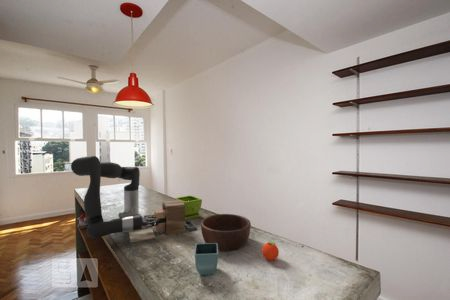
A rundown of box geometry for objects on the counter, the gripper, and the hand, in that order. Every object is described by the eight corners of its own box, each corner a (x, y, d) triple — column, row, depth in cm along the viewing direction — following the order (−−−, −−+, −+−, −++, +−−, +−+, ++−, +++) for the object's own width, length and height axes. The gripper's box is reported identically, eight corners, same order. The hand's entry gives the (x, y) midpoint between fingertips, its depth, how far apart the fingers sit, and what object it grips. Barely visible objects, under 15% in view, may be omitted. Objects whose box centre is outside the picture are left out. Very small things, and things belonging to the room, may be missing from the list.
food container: (128, 231, 119) (127, 213, 118) (118, 230, 120) (118, 213, 120) (140, 223, 131) (140, 207, 130) (132, 222, 132) (132, 206, 132)
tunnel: (162, 227, 125) (162, 201, 125) (179, 224, 129) (179, 199, 129) (166, 235, 114) (166, 206, 114) (184, 231, 119) (184, 204, 118)
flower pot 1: (184, 222, 133) (184, 202, 133) (173, 216, 144) (173, 197, 144) (202, 217, 143) (202, 198, 142) (191, 212, 153) (191, 194, 153)
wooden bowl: (255, 235, 114) (255, 216, 114) (243, 258, 91) (243, 235, 91) (212, 229, 123) (212, 211, 122) (191, 249, 99) (191, 227, 99)
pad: (128, 232, 118) (128, 231, 118) (151, 228, 123) (151, 228, 123) (130, 242, 105) (130, 242, 105) (155, 237, 111) (155, 237, 111)
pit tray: (182, 223, 130) (182, 221, 130) (190, 222, 133) (190, 220, 132) (188, 231, 120) (188, 228, 120) (196, 229, 122) (196, 226, 122)
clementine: (267, 252, 96) (268, 237, 96) (282, 257, 92) (282, 241, 92) (259, 259, 90) (259, 243, 90) (274, 265, 85) (274, 248, 85)
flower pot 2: (195, 265, 86) (195, 243, 85) (217, 264, 86) (217, 242, 86) (194, 279, 77) (194, 254, 77) (218, 277, 78) (218, 253, 77)
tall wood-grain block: (154, 229, 120) (154, 210, 120) (180, 225, 127) (180, 206, 127) (156, 234, 114) (156, 213, 114) (183, 229, 121) (183, 210, 121)
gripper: (132, 220, 105) (167, 215, 113) (131, 212, 118) (162, 208, 126) (132, 235, 105) (167, 229, 113) (131, 225, 118) (162, 221, 126)
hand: (164, 218), depth 119 cm, fingers closed on tall wood-grain block, 5 cm apart
